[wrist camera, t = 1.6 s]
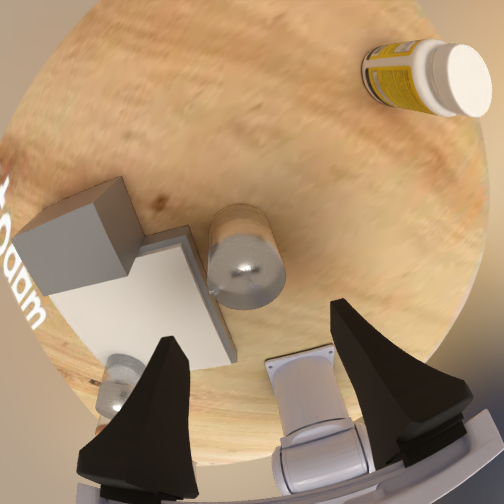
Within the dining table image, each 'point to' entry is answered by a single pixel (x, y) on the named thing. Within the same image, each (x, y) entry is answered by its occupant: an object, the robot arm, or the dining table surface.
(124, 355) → the cylinder
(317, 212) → the dining table surface
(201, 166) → the dining table surface
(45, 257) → the scale
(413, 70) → the supplement bottle
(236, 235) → the cylinder
